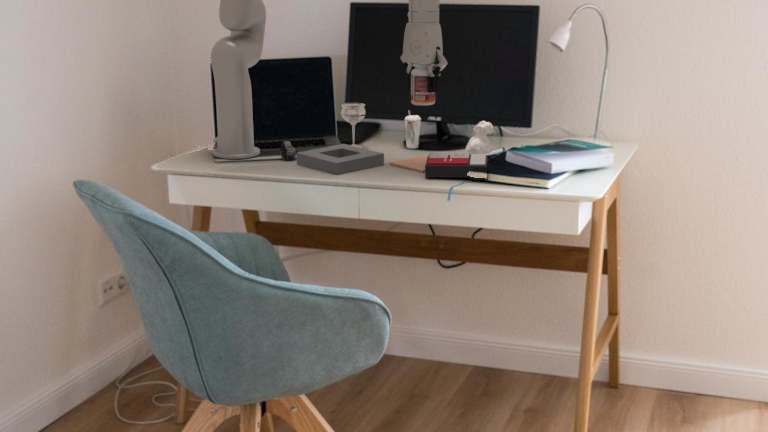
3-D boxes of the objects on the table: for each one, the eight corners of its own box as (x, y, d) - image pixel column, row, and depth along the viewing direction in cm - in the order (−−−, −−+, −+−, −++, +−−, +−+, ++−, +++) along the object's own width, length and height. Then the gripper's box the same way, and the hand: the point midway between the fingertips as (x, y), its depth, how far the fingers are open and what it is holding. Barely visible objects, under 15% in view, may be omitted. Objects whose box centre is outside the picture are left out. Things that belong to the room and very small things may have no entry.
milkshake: (416, 144, 273) (416, 109, 270) (422, 148, 268) (423, 113, 265) (401, 145, 271) (401, 110, 269) (407, 149, 267) (407, 114, 264)
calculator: (428, 151, 244) (487, 151, 242) (428, 168, 245) (487, 168, 244) (424, 162, 234) (487, 162, 232) (425, 179, 235) (487, 180, 233)
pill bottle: (439, 104, 244) (440, 59, 241) (420, 106, 241) (420, 61, 237) (425, 101, 249) (426, 56, 246) (406, 103, 246) (406, 58, 242)
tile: (389, 164, 250) (389, 162, 249) (422, 157, 257) (422, 155, 257) (422, 172, 241) (422, 170, 241) (455, 165, 249) (455, 162, 249)
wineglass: (336, 147, 270) (336, 104, 267) (356, 143, 274) (355, 101, 271) (351, 151, 265) (350, 107, 262) (370, 147, 269) (370, 105, 266)
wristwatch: (282, 165, 256) (288, 153, 252) (278, 149, 258) (283, 138, 254) (293, 165, 257) (299, 153, 253) (288, 149, 259) (294, 138, 256)
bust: (473, 171, 251) (500, 140, 247) (451, 153, 252) (478, 120, 247) (482, 161, 262) (509, 131, 258) (461, 143, 263) (487, 112, 258)
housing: (296, 164, 250) (296, 152, 249) (343, 154, 261) (343, 143, 260) (336, 174, 239) (336, 163, 238) (384, 164, 250) (384, 153, 249)
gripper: (388, 16, 242) (388, 88, 247) (438, 21, 230) (437, 96, 235) (410, 15, 247) (409, 85, 252) (459, 19, 235) (458, 92, 240)
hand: (423, 89), depth 244 cm, fingers closed on pill bottle, 6 cm apart
